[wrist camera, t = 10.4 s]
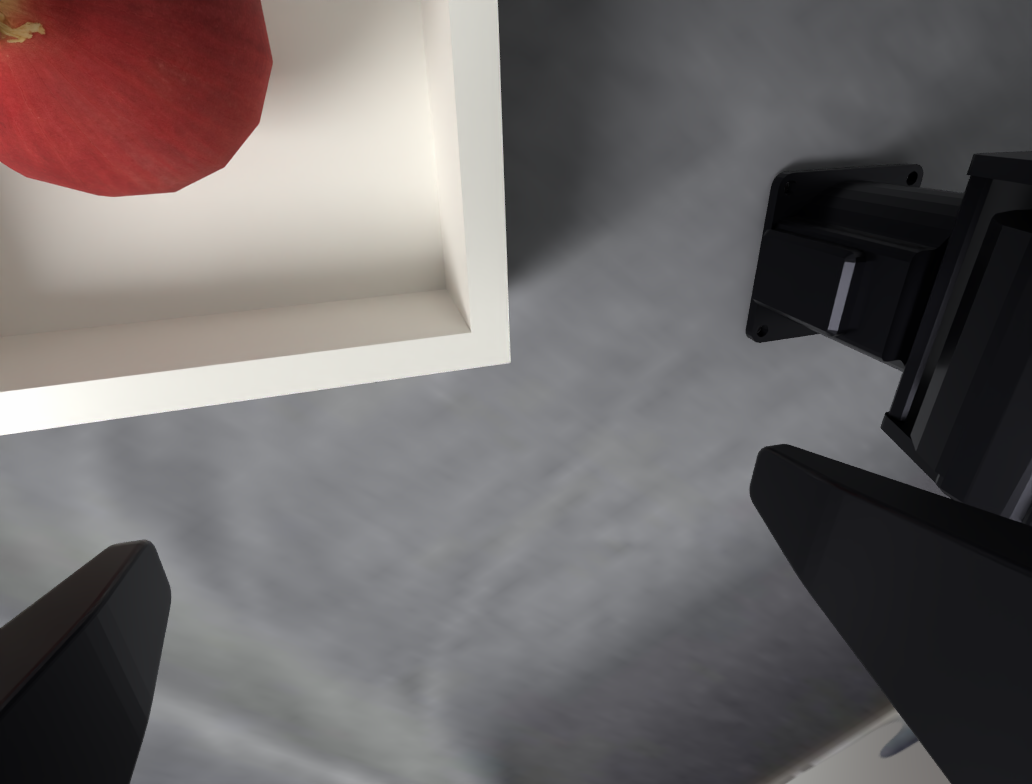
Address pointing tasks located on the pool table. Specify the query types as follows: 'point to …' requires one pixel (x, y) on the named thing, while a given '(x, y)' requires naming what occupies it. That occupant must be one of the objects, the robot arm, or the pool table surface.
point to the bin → (280, 235)
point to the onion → (129, 90)
